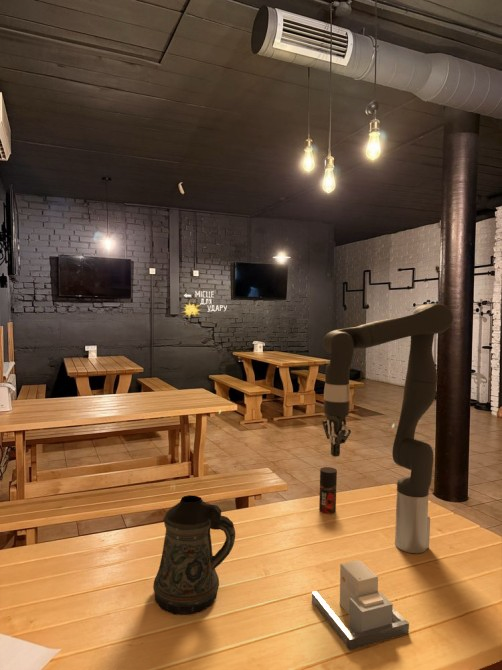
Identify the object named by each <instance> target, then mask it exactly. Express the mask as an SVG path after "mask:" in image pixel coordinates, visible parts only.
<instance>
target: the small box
mask: <svg viewBox="0 0 502 670" xmlns="http://www.w3.org/2000/svg"><path fill="white" fill-rule="evenodd" d="M339 568H340V570H339V571H340V572H339V573H340V574H339V578H340V579H339V606H340V607H342V608H343V610H344V611H345V612H346V614H348V615H349V603H350V598H353V597H357V596H361V595H365V594H369V593H374V592H378V591H379V576H378V575H376V573H375V572H373V571H372V570H371V569H370V568H369V567H368V566H367V565H365V564H364V563H363V562H362V561H361V560H359V559H357V560H352V561H348V562H344V563H340V567H339Z"/></svg>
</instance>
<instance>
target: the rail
mask: <svg viewBox="0 0 502 670" xmlns="http://www.w3.org/2000/svg"><path fill="white" fill-rule="evenodd" d="M311 602H312V604H313V605H314V607H315V608H316V609H317V610H318V612H319V613H320V615H321V616H322V617H323V618H324V620H325V621H326V622H327V624H328V625H329V626H330V627H331V629H332V630H333V631H334V632H335V634H336V635H337V636H338V638H339V639H340V640H341V641H342V642H343V644H344V645H345V647H346V648H347V649H348V651H349V652H351V651H354V650H356V649H357V650H358V649H361V648H364V647H367V646H372V645H374V644H378V643H381V642H385V641H389V640H393V639H395V638H396V639H397V638H398V637H403V636H406V635H409V632H410V630H409V629H410V622H408V621H407V620H406V619H405V618H404V617H403V616H402V615H401V614H400V613H399V612H398V611H397V610H396V609H395V608H394V607H393V609H392V624H388V625H385V626H381V627H377V628H374V629H370V630H366V631H363V632H359V633H355V634H354V633H351V631H350V629H349V628H347V627H346V626H345V624H344V623H343V622H342V621H341V619H340V617H338V616H337V614H335V612H334V610H332V608H330V606H329V605H328V604H327V603H326V601H325V600H324V599H323V598H322V596H321V595H320V593H318V591H317V590H315V591H312V592H311Z"/></svg>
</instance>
